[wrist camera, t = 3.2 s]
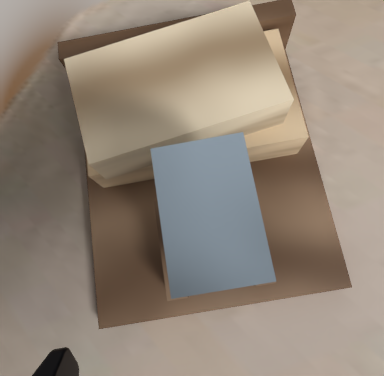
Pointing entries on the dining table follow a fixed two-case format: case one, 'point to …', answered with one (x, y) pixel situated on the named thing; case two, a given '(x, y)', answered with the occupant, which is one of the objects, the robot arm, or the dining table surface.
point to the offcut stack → (185, 93)
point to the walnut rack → (152, 233)
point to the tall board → (210, 216)
